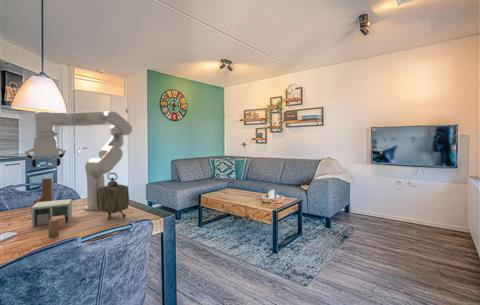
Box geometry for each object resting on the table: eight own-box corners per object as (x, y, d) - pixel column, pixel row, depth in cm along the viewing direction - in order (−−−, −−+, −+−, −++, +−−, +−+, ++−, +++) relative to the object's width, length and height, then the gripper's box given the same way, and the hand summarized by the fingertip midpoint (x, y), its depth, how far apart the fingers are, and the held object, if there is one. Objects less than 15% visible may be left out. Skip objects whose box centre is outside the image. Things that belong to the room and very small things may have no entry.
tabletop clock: (129, 216, 134) (128, 172, 133) (116, 221, 126) (115, 174, 125) (109, 214, 139) (108, 171, 138) (95, 218, 130) (94, 173, 129)
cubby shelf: (71, 215, 136) (71, 199, 136) (69, 221, 126) (69, 203, 125) (37, 219, 128) (36, 202, 128) (32, 226, 118) (31, 207, 118)
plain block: (51, 220, 127) (50, 211, 127) (49, 223, 123) (49, 213, 123) (39, 222, 125) (38, 212, 125) (36, 225, 121) (36, 215, 120)
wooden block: (33, 207, 152) (32, 179, 151) (35, 206, 156) (34, 178, 155) (51, 206, 156) (50, 178, 156) (52, 204, 160) (51, 177, 160)
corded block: (65, 224, 121) (65, 211, 120) (60, 236, 106) (59, 220, 106) (53, 226, 118) (52, 212, 118) (45, 238, 103) (45, 222, 103)
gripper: (65, 135, 136) (67, 165, 137) (25, 135, 126) (27, 167, 127) (64, 134, 130) (66, 166, 130) (22, 134, 120) (24, 168, 121)
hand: (46, 166), depth 129 cm, fingers open, 9 cm apart
